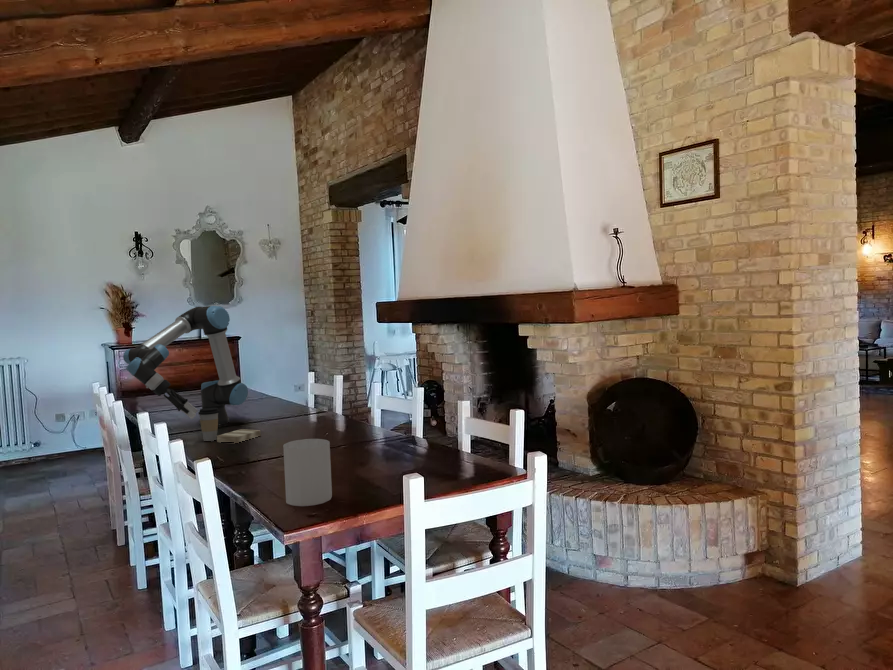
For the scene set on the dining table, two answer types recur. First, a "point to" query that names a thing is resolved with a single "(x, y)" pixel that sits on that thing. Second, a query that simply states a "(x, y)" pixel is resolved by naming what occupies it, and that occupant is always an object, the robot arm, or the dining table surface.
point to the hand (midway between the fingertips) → (195, 414)
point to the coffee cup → (209, 423)
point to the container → (307, 472)
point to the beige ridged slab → (238, 435)
